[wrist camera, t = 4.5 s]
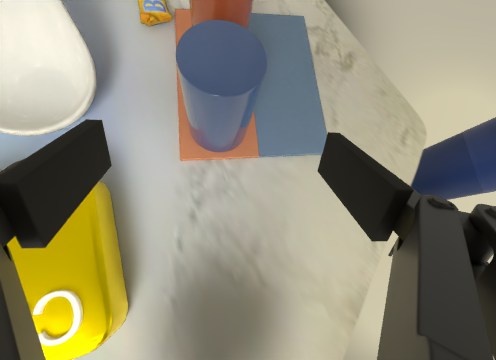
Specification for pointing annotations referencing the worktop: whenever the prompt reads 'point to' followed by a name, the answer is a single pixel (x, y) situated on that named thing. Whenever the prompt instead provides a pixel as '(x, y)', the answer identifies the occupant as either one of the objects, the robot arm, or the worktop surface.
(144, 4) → the candy bar
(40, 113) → the spoon rest
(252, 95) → the navy blue cylinder
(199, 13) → the orange cylinder
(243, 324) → the worktop surface
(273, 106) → the mat
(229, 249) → the worktop surface
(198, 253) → the worktop surface
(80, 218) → the element tile
